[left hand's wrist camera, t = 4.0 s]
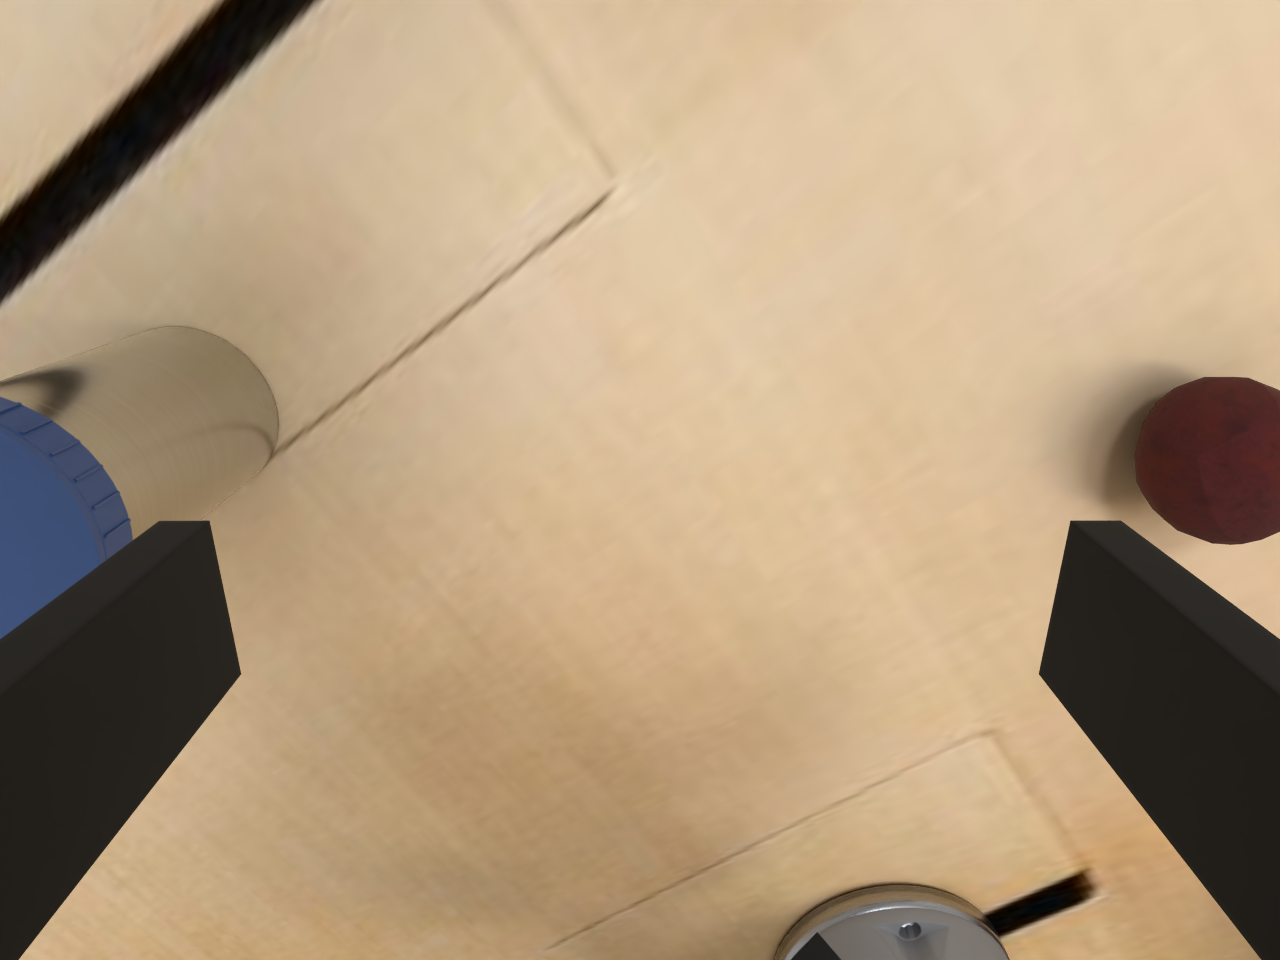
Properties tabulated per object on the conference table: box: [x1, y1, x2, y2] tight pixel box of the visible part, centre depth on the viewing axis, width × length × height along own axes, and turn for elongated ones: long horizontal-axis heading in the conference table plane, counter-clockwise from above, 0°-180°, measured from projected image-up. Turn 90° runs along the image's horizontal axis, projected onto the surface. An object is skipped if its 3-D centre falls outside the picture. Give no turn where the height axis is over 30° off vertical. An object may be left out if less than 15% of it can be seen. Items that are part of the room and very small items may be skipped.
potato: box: [1135, 377, 1280, 545], centre depth 38 cm, size 7×8×7 cm
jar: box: [0, 327, 278, 540], centre depth 34 cm, size 8×8×15 cm
